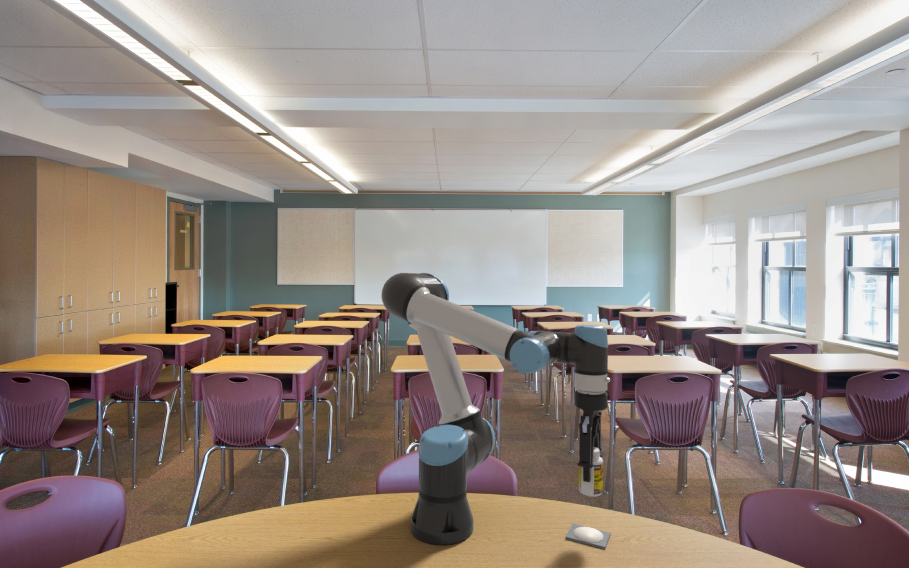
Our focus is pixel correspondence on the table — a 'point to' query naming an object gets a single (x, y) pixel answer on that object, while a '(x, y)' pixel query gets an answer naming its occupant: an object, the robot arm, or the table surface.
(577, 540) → the seat plate
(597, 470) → the supplement bottle
